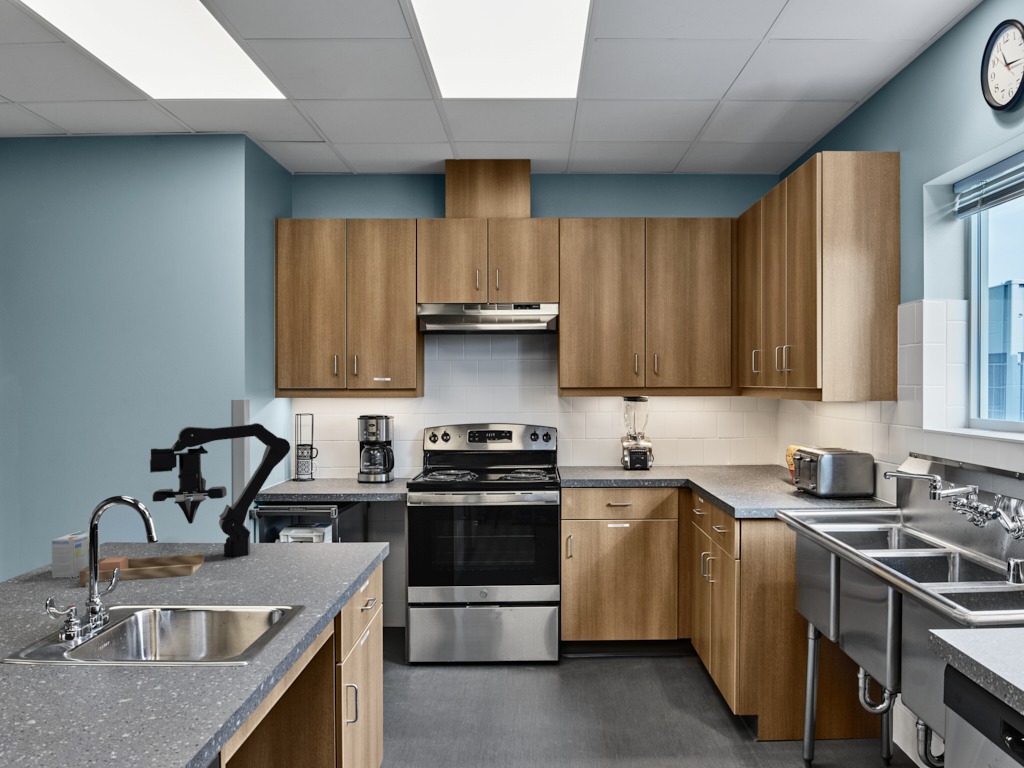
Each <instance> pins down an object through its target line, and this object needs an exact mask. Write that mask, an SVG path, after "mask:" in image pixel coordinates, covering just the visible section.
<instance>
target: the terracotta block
mask: <svg viewBox="0 0 1024 768" xmlns="http://www.w3.org/2000/svg"><path fill="white" fill-rule="evenodd" d="M104 559H105V560H103V561H102V562H100V563H99V571H102V570H114V569H116V568H119V569H128V559H129V556H128V555H127V556H125V555H124V556H123V555H122V556H110V557H106V558H104Z"/></svg>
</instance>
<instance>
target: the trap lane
mask: <svg viewBox="0 0 1024 768" xmlns="http://www.w3.org/2000/svg"><path fill="white" fill-rule="evenodd" d="M105 559H106V558H100V559H99V560H98V564H99V563H100V562H102V561H103V560H105ZM204 563H205V553H194V554H181V555H180V554H178V555H166V556H151V557H150V556H149V557H148V556H147V557H137V558H135V557H134V558H128V569H120V572H121V575H120V577H119V580H118V581H128V580H140V579H141V580H143V579H144V580H145V579H155V578H157V579H158V578H167V577H168V578H169V577H183V576H192V575H193V574H194V573H195V572H196V571H197V570H198V569H199V568H200V567H201V566H203V564H204ZM112 576H113V570H102V571H99V582H98V583H101V582H100V581H103V582H106V581H105V580H109V579H110V580H111V579H112ZM78 579H79V582H78V583H79V588H82V587H81V586H85V587H89V586H88V583H89V566H88V567H86V568H84V569H83V570H81V571H79V576H78ZM86 585H87V586H86Z"/></svg>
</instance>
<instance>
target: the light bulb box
mask: <svg viewBox="0 0 1024 768" xmlns="http://www.w3.org/2000/svg"><path fill="white" fill-rule="evenodd" d="M89 531H90V530H86V531H85V530H79V531H75V532H73V533H70V534H67V535H63V536H60V537H57V538H53V539H51V569H52V570H51V574H52V575H51V577H66V578H65V579H75V578H77V577H79V571H81V570H83V569H84V568H86V567H88V549H89ZM97 531H98V556H99V559H101V557H100V554H101V553H100V530H97ZM67 577H68V578H67ZM72 577H73V578H72ZM74 577H75V578H74Z"/></svg>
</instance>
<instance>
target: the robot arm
mask: <svg viewBox="0 0 1024 768" xmlns="http://www.w3.org/2000/svg"><path fill="white" fill-rule="evenodd" d="M177 437H178V439H176V441H175V443H174V444H172V447H169V448H168V447H167V448H156V447H155V448H150V459H149V473H150V474H151V473H164V472H165V473H166V472H173V469H175V468H177V463H178V474H177V477H178V479H179V480H178V481H179V483H178V487H179V488H178V489H177V490H178V491H177V490H176V491H175V490H173V488H163V489H161V488H160V489H158V490H155V491H154V492H153V493H152V502H153V503H154V502H155V503H156V502H165V501H166V500H167V499H173V498H174V499H175V501H174V504H178V506H179V508H180V509H181V511H182V513H183V514H184V516H185V519H186V521H187V523H188V525H191V524H193V523H194V520H195V518H196V514H197V512H198V509H199V507H200V504H201V503H202V502H203V501H205V500H206V501H207V497H208V499H210V500H213V499H223V498H225V497H226V496H227V487H226V486H211V487H210V488H208V489H206V485H207V479H205V477H203V474H202V455H204V454H205V455H207V454H208V453H209V451H208V450H206V449H205V448H204V447H203V445H204V444H207V443H208V444H209V443H211V442H214V441H223V440H233V439H240V438H241V439H242V438H249V437H251V438H252V437H255V438H256V439H257V440H258V441H260V443H262V444H263V445H265V446H266V448H264V449H265V450H264V452H263V455H262V459H261V462H260V463H259V465H258V467H257V468H256V470H255V471H254V472H253V474H252V476H251V477H250V479H249V480H248V482H247V483H246V486H245V487H244V489H243V490H242V492H241V493H240V495H239V497H238V498H237V500H236V501H235V502H234V503H233V504H231V505H229V504H226V505H225V507H224V509H223V511H222V512H221V514H219V515H218V516H219V521H218V525H219V528H220V529H221V531H222V532H223V534H225V535H227V537H226V539H225V543H224V544H223V557H225V558H241V557H247V556H249V555H251V536H250V535H251V531H250V530H249V529H248V527H246V526H245V525H244V523H245V521H246V518H247V516H248V515H247V514H248V512H249V509H250V507H251V505H252V504H253V502H254V501H255V499H256V497H257V495H259V493H260V491H261V489H262V487H263V486H264V484H265V482H266V481H267V480H268V478H269V476H270V475H271V474H272V471H273V470H274V468H275V467H277V465H278V464H280V463H281V462H282V461H283V459H285V458H286V457H287V455H288V454H289V453H290V450H291V444H290V442H289V441H288V440H287V439H286V438H282V437H279V436H276V434H275V433H273V432H271V431H270V430H269V429H267V428H266V427H264V425H263V424H261V423H257V422H256V423H255V422H254V423H251V424H241V425H232V426H221V427H213V428H212V427H202V426H200V427H199V426H185V427H184V428H181V429H180V430H179V433H178V436H177ZM198 446H199V447H198ZM196 447H197V448H196ZM185 449H187V450H186V451H185V452H183V451H184V450H185ZM177 456H178V460H177ZM177 461H178V462H177ZM191 498H193V499H192V500H191Z"/></svg>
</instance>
